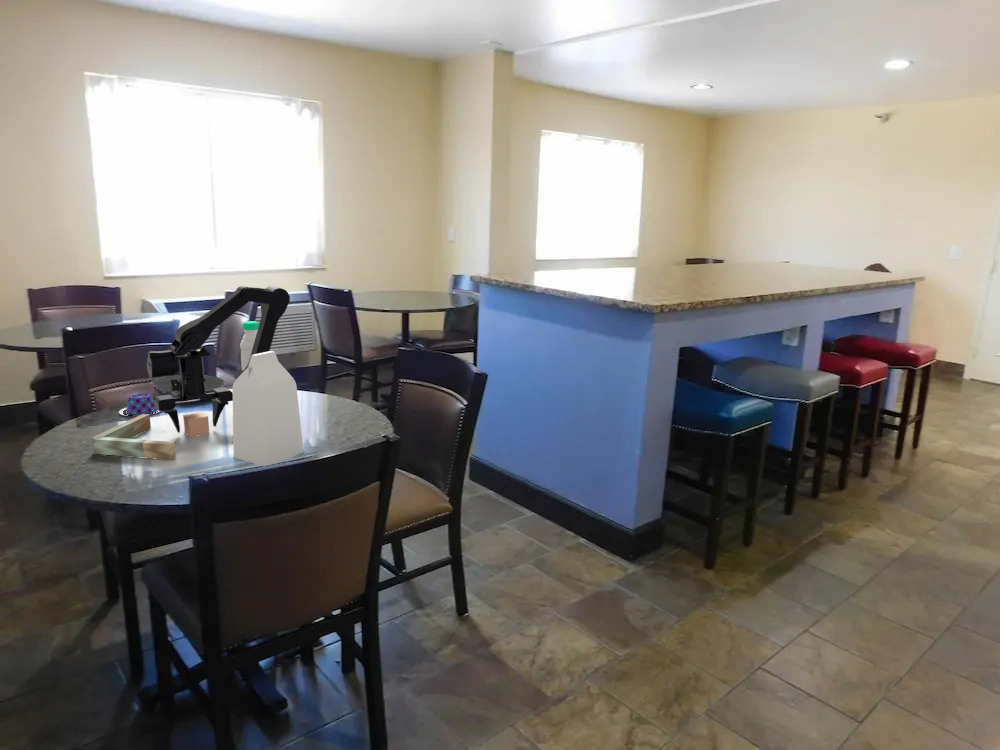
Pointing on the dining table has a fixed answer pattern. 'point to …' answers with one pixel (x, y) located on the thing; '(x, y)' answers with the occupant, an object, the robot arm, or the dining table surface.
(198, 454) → the dining table surface
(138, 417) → the arena
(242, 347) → the water bottle
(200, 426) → the cube
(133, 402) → the pudding
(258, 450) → the milk
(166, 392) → the board
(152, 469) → the dining table surface
